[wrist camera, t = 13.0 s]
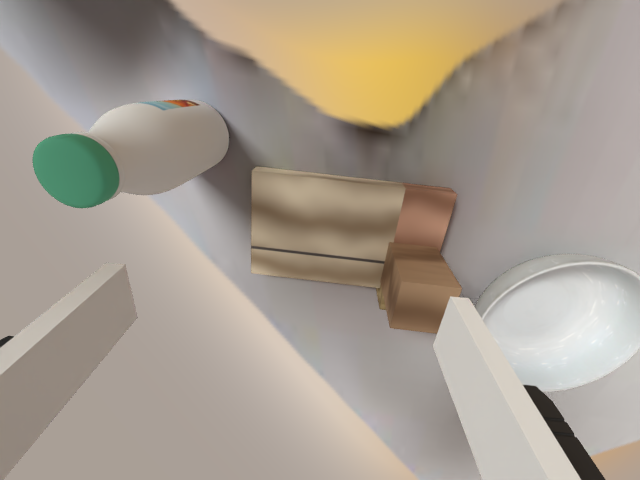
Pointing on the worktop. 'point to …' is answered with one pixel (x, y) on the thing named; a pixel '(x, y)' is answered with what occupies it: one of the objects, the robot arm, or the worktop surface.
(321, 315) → the worktop surface
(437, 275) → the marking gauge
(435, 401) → the worktop surface
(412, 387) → the worktop surface
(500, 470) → the robot arm
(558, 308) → the serving bowl
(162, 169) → the milk bottle
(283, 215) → the maple board
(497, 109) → the worktop surface
